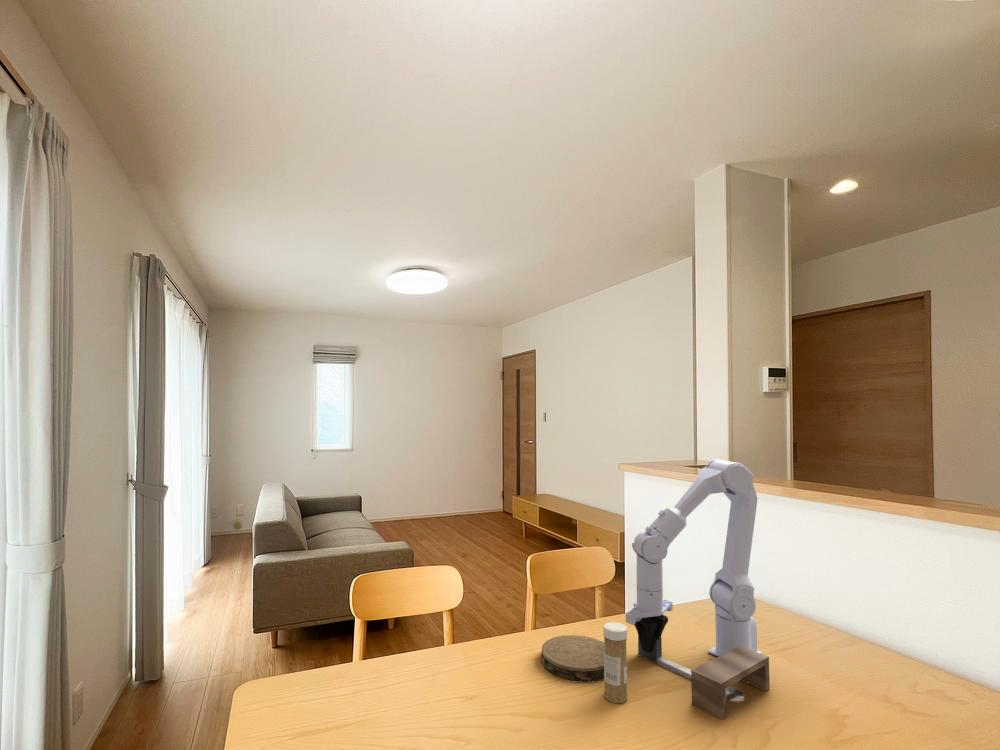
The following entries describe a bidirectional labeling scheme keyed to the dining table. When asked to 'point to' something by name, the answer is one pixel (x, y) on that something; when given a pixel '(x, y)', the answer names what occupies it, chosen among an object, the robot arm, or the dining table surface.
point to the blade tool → (657, 658)
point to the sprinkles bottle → (615, 662)
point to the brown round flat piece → (574, 658)
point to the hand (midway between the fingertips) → (650, 649)
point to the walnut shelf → (727, 678)
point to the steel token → (734, 695)
